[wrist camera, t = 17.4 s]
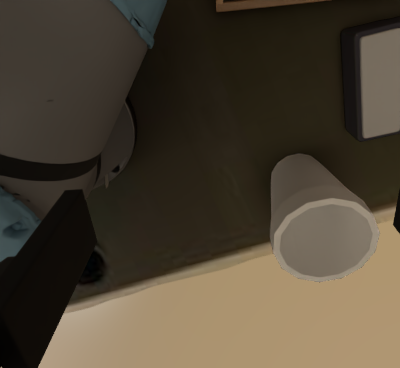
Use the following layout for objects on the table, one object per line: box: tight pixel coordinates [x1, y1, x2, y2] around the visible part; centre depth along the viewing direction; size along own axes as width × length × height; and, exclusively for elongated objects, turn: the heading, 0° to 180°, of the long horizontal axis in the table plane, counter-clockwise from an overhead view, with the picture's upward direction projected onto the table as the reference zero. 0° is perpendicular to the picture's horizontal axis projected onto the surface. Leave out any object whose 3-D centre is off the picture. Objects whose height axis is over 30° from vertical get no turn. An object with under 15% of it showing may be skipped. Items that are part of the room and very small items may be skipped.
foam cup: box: [270, 153, 380, 282], centre depth 38 cm, size 10×9×13 cm
